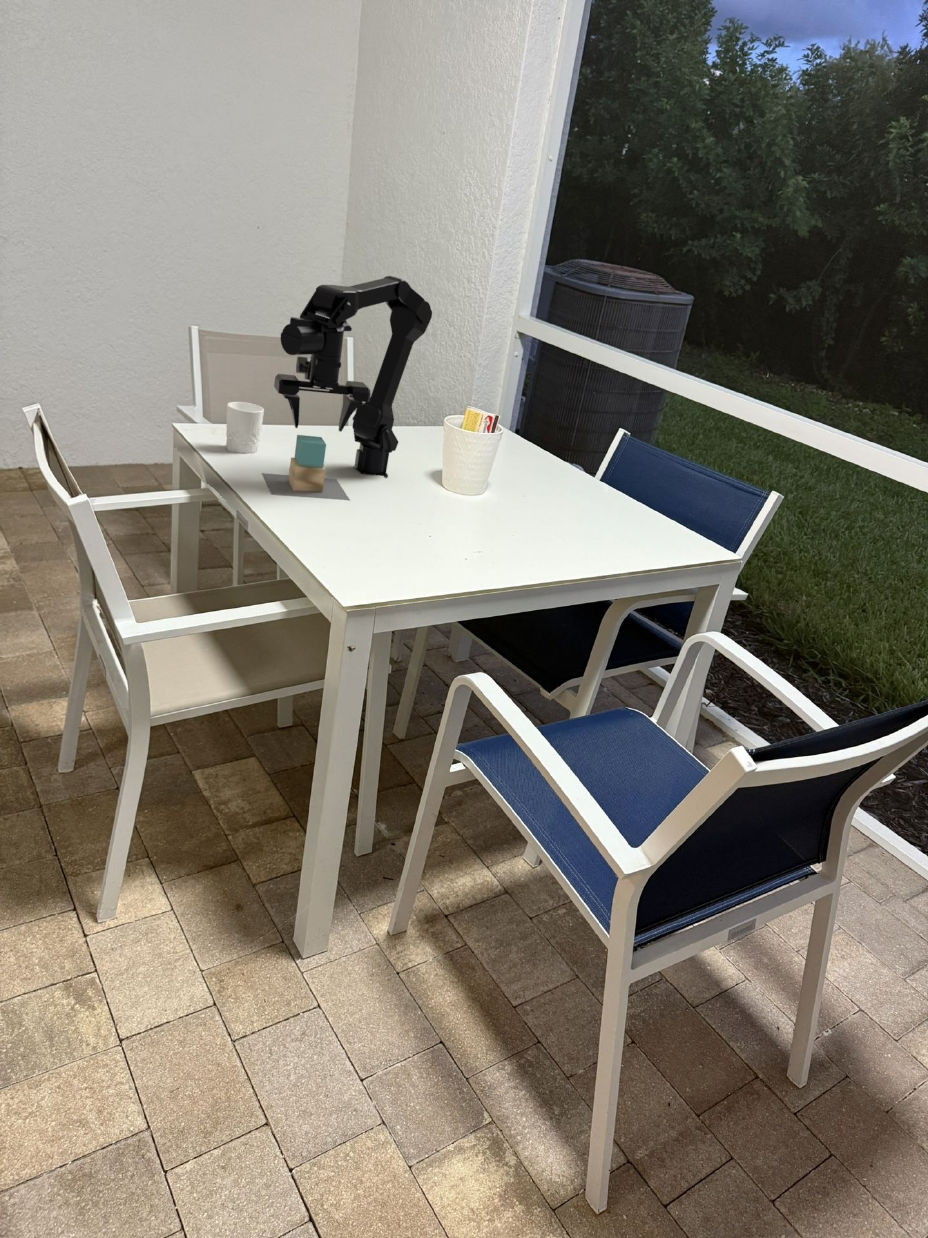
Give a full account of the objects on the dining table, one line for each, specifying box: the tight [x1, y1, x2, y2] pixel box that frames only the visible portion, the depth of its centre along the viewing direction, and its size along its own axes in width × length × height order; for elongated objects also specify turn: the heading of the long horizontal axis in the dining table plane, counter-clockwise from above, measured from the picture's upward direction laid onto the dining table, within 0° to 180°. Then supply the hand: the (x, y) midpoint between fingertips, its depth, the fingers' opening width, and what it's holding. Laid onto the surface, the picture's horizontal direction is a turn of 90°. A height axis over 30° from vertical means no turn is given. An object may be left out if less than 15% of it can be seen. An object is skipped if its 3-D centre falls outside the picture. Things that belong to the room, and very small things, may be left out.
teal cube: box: [293, 434, 327, 468], centre depth 186 cm, size 5×5×5 cm
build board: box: [261, 472, 351, 501], centre depth 189 cm, size 16×13×1 cm
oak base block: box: [288, 457, 326, 492], centre depth 188 cm, size 6×6×5 cm
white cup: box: [225, 401, 265, 455], centre depth 202 cm, size 8×8×10 cm
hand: (318, 429), depth 188 cm, fingers open, 9 cm apart
